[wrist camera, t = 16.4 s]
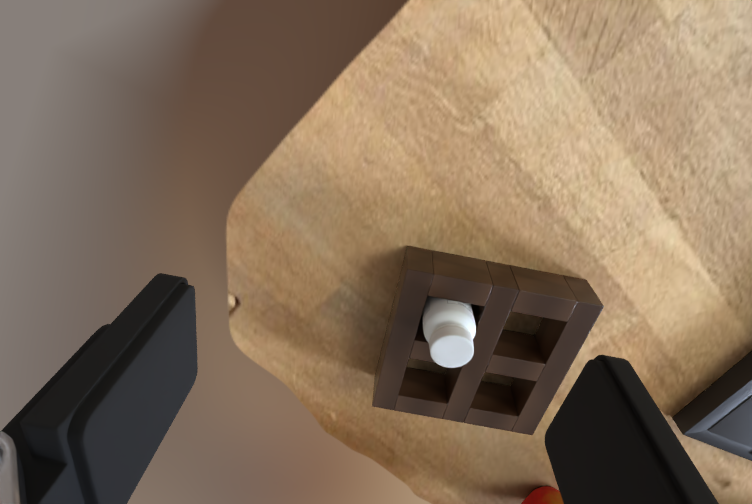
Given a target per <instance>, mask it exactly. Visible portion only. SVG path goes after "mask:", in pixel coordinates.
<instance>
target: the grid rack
mask: <svg viewBox="0 0 752 504" xmlns="http://www.w3.org/2000/svg"><path fill="white" fill-rule="evenodd" d="M427 295H428V296H432V297H437V298H443V299H448V300H453V301H459V302H464V303H469V304H471V306H472V311H473V316H474V320H475V325H476V333H475V336H474V339H473V346H474V354H473V357H472V358H471V360H470V361H469V362H468V363H466V364H465V365H463V366H460V367H455V368H448V367H447V370H446V373H445V374H441V373H435V372H430V371H424V370H419V369H413V368H408V367H407V363H408V360H409V358H412V359H417V360H423V361H428V362H434V363H436V362H435V361H434V360H433V359H432V357H431V355H430V348H429V343H428V341H427V340H426V338H425V336H424V332H423V316H422V312H423V309H424V305H425V302H426V299H427ZM603 307H604V306H603V304H602V303H601V301H600V300H599V298H598V297H597V295H596V294H595V292H594V291H593V289H592V288H591V286H590V285H589V283H588V281H587V280H585V279H579V278H574V277H569V276H564V275H558V274H553V273H548V272H542V271H537V270H532V269H527V268H521V267H516V266H511V265H510V266H509V265H505V264H500V263H495V262H489V261H485V260H480V259H474V258H469V257H464V256H459V255H454V254H448V253H443V252H438V251H433V250H432V251H431V250H427V249H422V248H417V247H411V246H407V249H406V253H405V257H404V261H403V265H402V269H401V273H400V277H399V281H398V285H397V289H396V293H395V298H394V302H393V306H392V310H391V314H390V318H389V322H388V326H387V330H386V334H385V338H384V342H383V346H382V350H381V354H380V358H379V362H378V366H377V370H376V374H375V381H374V391H373V402H372V406H373V407H379V408H384V409H390V410H395V411H401V412H406V413H412V414H417V415H423V416H428V417H434V418H440V419H446V420H452V421H457V422H464V423H468V424H473V425H479V426H484V427H490V428H496V429H501V430H507V431H512V432H517V433H523V434H528V435H533V433H534V431H535V430H536V428H537V426H538V424H539V422H540V421H541V419H542V417H543V415H544V413H545V412H546V410H547V408H548V406H549V404H550V403H551V401H552V399H553V397H554V395H555V394H556V392H557V390H558V388H559V386H560V385H561V383H562V381H563V379H564V377H565V376H566V374H567V372H568V370H569V368H570V367H571V365H572V363H573V361H574V359H575V358H576V356H577V354H578V352H579V350H580V349H581V347H582V345H583V343H584V341H585V340H586V338H587V336H588V334H589V332H590V331H591V329H592V327H593V325H594V323H595V322H596V320H597V318H598V316H599V314H600V313H601V311H602V309H603ZM510 311H512V312H517V313H523V314H528V315H533V316H539V317H543V318H542V321H541V323H540V325H539V327H538V329H537V331H536V333H535V335H529V334H524V333H518V332H513V331H508V330H503V327H504V325H505V322H506V320H507V318H508V315H509V313H510ZM484 372H488V373H494V374H499V375H504V376H510V377H514V380H513V382H512V384H511V386H506V385H501V384H495V383H490V382H484V381H481V379H482V377H483V375H484Z"/></svg>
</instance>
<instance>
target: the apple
mask: <svg viewBox="0 0 752 504" xmlns="http://www.w3.org/2000/svg"><path fill="white" fill-rule="evenodd" d="M521 504H564V503H563V500H562V497H561V493H560V491H558V490H557V489H555V488H552V487H550V486H543V487H539V488H537V489H535V490H533V491H532V492H531V493H530V494H529V495H528V497H527V498H526V499H525V500H524V501H523V502H522V503H521Z"/></svg>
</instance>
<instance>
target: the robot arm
mask: <svg viewBox="0 0 752 504" xmlns="http://www.w3.org/2000/svg"><path fill="white" fill-rule="evenodd" d="M196 376H197V340H196V311H195V289H194V286H191V285H188V282H187V280H186V278H183V277H178V276H172V275H167V274H162V273H160V274H157V275H156V276H155V277H154V278H153V279H152V280H151V281H150V282H149V283H148V285H146V287H145V288H144V289H143V290H142V291H141V292H140V293H139V294H138V295H137V296H136V297H135V298H134V300H133V301H132V302H131V303H130V304H129V305H128V306H127V307H126V308H125V309H124V310H123V312H121V314H120V315H119V316H118V317H117V318H116V319H115V320H114V321H113V322H112V323H111V324H107V325H104V326H102V327H101V328H100V329H98V330H97V331H96V332H95V333H94V334H93V335H92V336H91V337H90V338H89V339H88V340H87V341H86V343H85V344H84V345H83V346H82V347H81V348H80V349H79V350H78V351H77V352H76V353H75V354H74V355H73V356H72V357H71V358H70V359H69V360H68V361H67V363H66V364H65V365H64V366H63V367H62V368H61V369H60V370H59V371H58V372H57V373H56V374H55V375H54V376H53V377H52V378H51V379H50V381H48V382H47V383H46V384H45V386H44V387H43V388H42V389H41V390H40V391H39V392H38V393H37V394H36V395H35V396H34V397H33V398H32V399H31V400H30V401H29V402H28V403H27V404H26V405H25V406H24V408H23V409H22V410H21V411H20V412H19V413H18V414H17V415H16V416H15V417H14V418H13V419H12V420H11V421H10V422H9V423H8V424H7V425H6V426H5V427H4V429H3V430H2V431H0V504H127V502H128V500H129V499H130V497H131V495H132V493H133V492H134V490H135V488H136V486H137V484H138V482H139V481H140V479H141V477H142V475H143V474H144V472H145V470H146V468H147V467H148V465H149V463H150V461H151V459H152V458H153V456H154V454H155V452H156V451H157V449H158V447H159V445H160V443H161V442H162V440H163V438H164V436H165V434H166V433H167V431H168V429H169V427H170V426H171V424H172V422H173V420H174V418H175V417H176V415H177V413H178V411H179V409H180V408H181V406H182V404H183V402H184V401H185V399H186V397H187V395H188V393H189V392H190V390H191V388H192V386H193V384H194V382H195V379H196ZM545 446H546V450H547V453H548V456H549V459H550V462H551V465H552V468H553V472H554V475H555V478H556V481H557V484H558V487H559V490H560V493H561V497H562V500H563V503H564V504H719V503H718V502H717V500H716V499H715V497H714V496H713V494H712V492H711V491H710V489H709V488H708V486H707V484H706V483H705V481H704V480H703V478H702V477H701V475H700V473H699V472H698V470H697V469H696V467H695V465H694V464H693V462H692V461H691V459H690V458H689V456H688V454H687V453H686V451H685V450H684V448H683V446H682V445H681V443H680V442H679V440H678V439H677V437H676V435H675V434H674V432H673V431H672V429H671V427H670V426H669V424H668V423H667V421H666V420H665V418H664V416H663V415H662V413H661V412H660V410H659V408H658V407H657V405H656V404H655V402H654V401H653V399H652V397H651V396H650V394H649V393H648V391H647V390H646V388H645V386H644V385H643V383H642V382H641V380H640V378H639V377H638V375H637V374H636V372H635V371H634V369H633V367H632V366H631V364H630V363H629V362H628V361H627V360H625V359H621V358H616V357H611V356H605V355H598V356H597V357H596V358H595V359H594V360H589V361H588V362H587V363H586V365H585V367H584V368H583V370H582V372H581V373H580V375H579V377H578V379H577V380H576V382H575V384H574V385H573V387H572V389H571V390H570V392H569V394H568V395H567V397H566V399H565V400H564V402H563V404H562V406H561V407H560V409H559V411H558V412H557V414H556V416H555V417H554V419H553V421H552V422H551V424H550V426H549V427H548V429H547V431H546V434H545Z"/></svg>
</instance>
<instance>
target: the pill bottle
mask: <svg viewBox="0 0 752 504" xmlns="http://www.w3.org/2000/svg"><path fill="white" fill-rule="evenodd" d="M422 316H423V332H424V336H425V338H426V340H427V341H428V343H429V348H430V355H431V357H432V359H433V360H434V361H435V362H436V363H437V364H438V365H440V366H443V367H448V368H455V367H460V366H463V365H465V364H466V363H468V362H469V361H470V360H471V358H472V357H473V354H474V346H473V339H474V336H475V333H476V325H475V320H474V316H473V311H472V306H471V304H469V303H464V302H459V301H453V300H448V299H443V298H437V297H432V296H428V295H427V299H426V302H425V305H424V309H423V312H422Z"/></svg>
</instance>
